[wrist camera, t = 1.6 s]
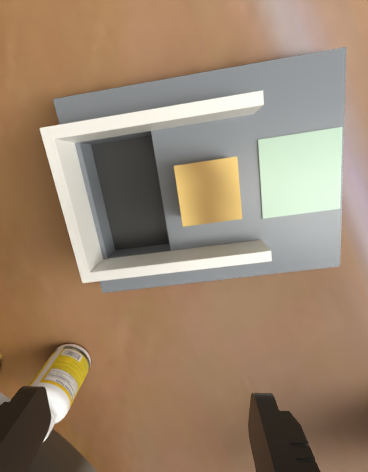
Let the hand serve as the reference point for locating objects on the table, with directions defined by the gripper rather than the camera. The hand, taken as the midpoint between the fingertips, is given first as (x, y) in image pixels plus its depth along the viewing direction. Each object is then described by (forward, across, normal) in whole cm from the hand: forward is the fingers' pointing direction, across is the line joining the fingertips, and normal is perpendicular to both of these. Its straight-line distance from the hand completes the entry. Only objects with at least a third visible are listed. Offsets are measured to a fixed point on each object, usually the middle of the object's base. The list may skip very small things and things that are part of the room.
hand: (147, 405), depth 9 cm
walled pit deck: (+20, -3, -7) cm, 22 cm away
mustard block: (+17, -3, -7) cm, 19 cm away
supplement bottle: (+21, +15, +17) cm, 30 cm away
